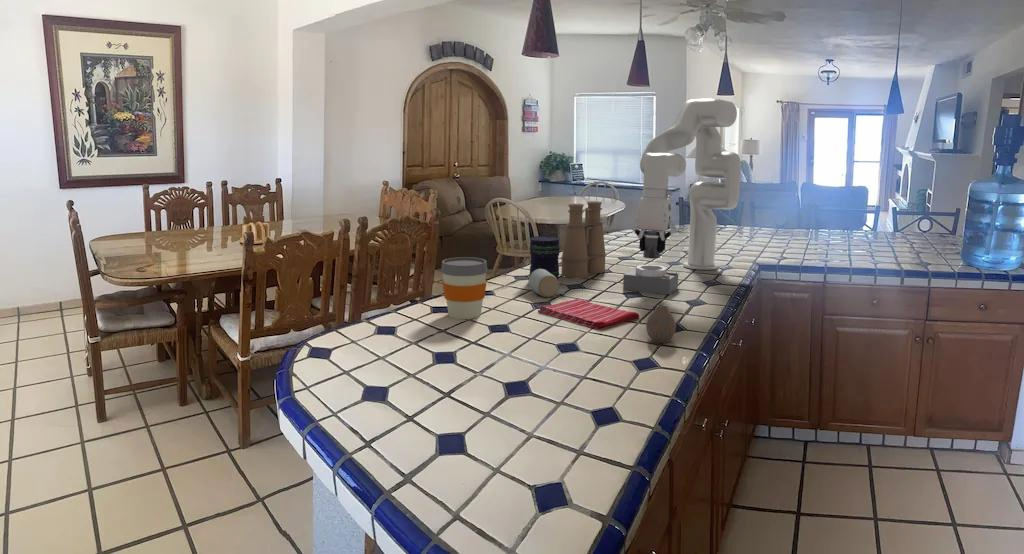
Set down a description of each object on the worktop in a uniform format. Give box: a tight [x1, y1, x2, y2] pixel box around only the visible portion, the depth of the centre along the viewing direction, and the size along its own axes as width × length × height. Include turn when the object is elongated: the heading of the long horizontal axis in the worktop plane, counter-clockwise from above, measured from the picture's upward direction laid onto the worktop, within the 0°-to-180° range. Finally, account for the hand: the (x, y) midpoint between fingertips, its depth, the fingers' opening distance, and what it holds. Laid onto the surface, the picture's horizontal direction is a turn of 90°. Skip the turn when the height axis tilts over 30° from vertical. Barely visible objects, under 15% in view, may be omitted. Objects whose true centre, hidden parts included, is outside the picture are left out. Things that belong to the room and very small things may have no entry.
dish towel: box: [537, 298, 640, 330], centre depth 186 cm, size 17×24×3 cm
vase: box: [646, 304, 677, 344], centre depth 164 cm, size 7×7×9 cm
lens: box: [642, 230, 661, 260], centre depth 214 cm, size 5×5×8 cm
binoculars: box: [560, 200, 608, 279], centre depth 238 cm, size 21×10×25 cm, turn 138°
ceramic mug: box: [528, 269, 566, 298], centre depth 209 cm, size 11×8×8 cm
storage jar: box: [529, 235, 561, 282], centre depth 225 cm, size 10×10×15 cm
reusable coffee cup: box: [440, 256, 488, 320], centre depth 185 cm, size 13×12×15 cm
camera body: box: [622, 264, 679, 296], centre depth 217 cm, size 10×15×7 cm, turn 62°
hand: (651, 250), depth 215 cm, fingers closed on lens, 5 cm apart
